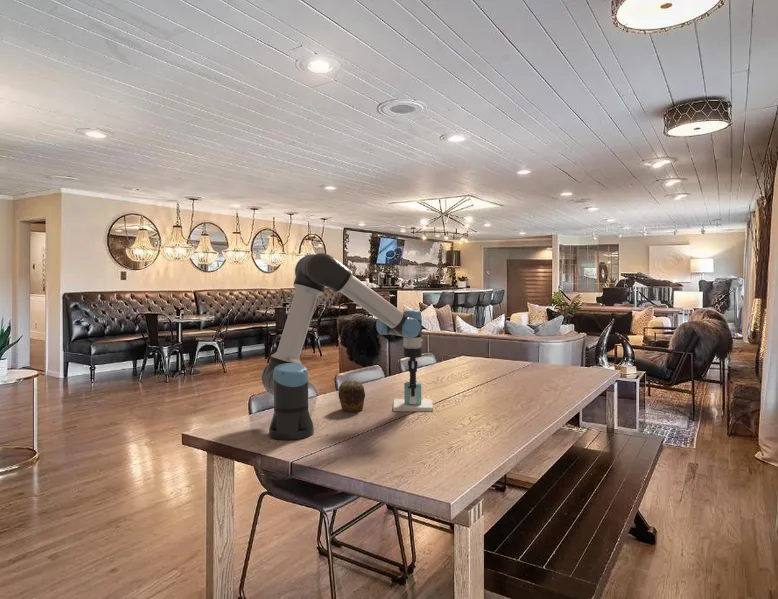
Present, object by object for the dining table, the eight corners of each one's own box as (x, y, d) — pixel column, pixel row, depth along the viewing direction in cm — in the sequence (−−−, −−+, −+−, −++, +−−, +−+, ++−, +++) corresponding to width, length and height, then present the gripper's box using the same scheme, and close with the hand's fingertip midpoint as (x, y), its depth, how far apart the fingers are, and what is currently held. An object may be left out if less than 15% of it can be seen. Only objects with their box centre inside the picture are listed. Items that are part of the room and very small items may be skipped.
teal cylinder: (421, 404, 206) (421, 384, 206) (404, 404, 207) (404, 384, 207) (421, 400, 214) (421, 381, 214) (404, 400, 214) (404, 381, 214)
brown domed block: (333, 411, 204) (332, 382, 203) (347, 405, 213) (347, 377, 213) (356, 414, 198) (355, 384, 198) (370, 408, 208) (369, 379, 208)
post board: (433, 411, 203) (432, 396, 203) (393, 411, 204) (393, 396, 203) (431, 402, 218) (431, 388, 218) (394, 402, 219) (394, 388, 218)
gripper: (422, 350, 199) (422, 407, 200) (421, 344, 220) (421, 395, 221) (403, 350, 200) (403, 407, 200) (403, 344, 221) (404, 395, 221)
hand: (412, 401), depth 211 cm, fingers open, 8 cm apart
